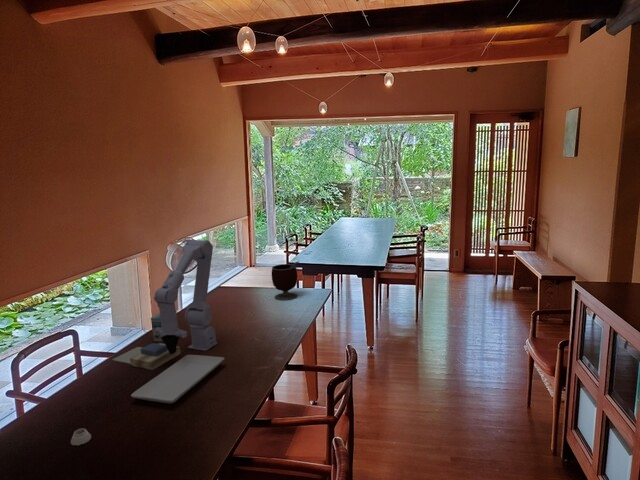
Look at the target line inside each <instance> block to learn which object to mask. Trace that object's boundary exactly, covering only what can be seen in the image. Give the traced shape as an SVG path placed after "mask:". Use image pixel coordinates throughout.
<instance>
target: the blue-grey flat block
mask: <svg viewBox="0 0 640 480" xmlns="http://www.w3.org/2000/svg"><path fill="white" fill-rule="evenodd" d="M161 344H162V343H161ZM161 344H159V343H154V342H152V343H149V344H148V345H146V346H143V347H142V349H141V354H144V355H150V356H155V357H157V356H159V355H161V354H162V353H164V352H166V351H168V349H167V346H166V345H161Z"/></svg>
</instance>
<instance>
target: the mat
mask: <svg viewBox="0 0 640 480" xmlns="http://www.w3.org/2000/svg"><path fill="white" fill-rule="evenodd" d="M142 348H143V347H142V346H136V347H135V348H132V349H131V350H129V351H127V352H124V353H123V354H120V355H119V356H116V357H114V358H112V359H111V361H113V362H118V363H124V364H128V365H131V362H130V358H132V357H134V356H136V355H137V354H139V353H141V349H142Z"/></svg>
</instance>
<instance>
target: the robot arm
mask: <svg viewBox="0 0 640 480" xmlns="http://www.w3.org/2000/svg"><path fill="white" fill-rule="evenodd" d="M182 249H183V253H182V255H181V258H180V260H179V262H178V264H177V266H176V267H175V270H171V271H170V272H169V274H168V276H167V278H166V279H165V280H164V282H163V284H162V286H161V287H159V288H158V289H156V291H155V293H154V296H153V299H154V302H156V305H157V307H158V309H159V313H160V319H161V327H157V328H155V329H154V334H157V333H160V334H161V335H162V336H163V337H161V339H162V340H163V341H162V343H163V344H165V345H166V346H167V349H168V351H169V353H170V354H174V353H175V352H176V347H177V346H178V342H179V340H180V337H181V338H182V339H185V338H186V337H187V336H188V331H186V330H183V329H181V328H179V325H178V326H177V321H178V316H177V317H176V312H177V309H176V301H177V300H178V297H179V295H178V293H179V289H180V288H181V285H182V283H183V281H184V280H185V273H186V271H187V269H188V268H189V267H190V266H191V264H192V262H193V261H195V262H196V273H195V280H194V281H195V282H194V290H193V298H192V302H190V303H189V304H188V305H187V307H186V312H185V314H184V320H185V323H186V324H188V327H189V329H190V336H191V337H190V338H191V344H190V345H188V346H187V349H193V350H199V351H204V352H205V351H208V350H209V349H211V348H213V347H214V346H216V345H218V342H217V336H216V329H215V327H214V326H211V322H212V318H213V315H212V307H211V305H209V304H208V301H207V300H208V299H207V298H208V291H209V283H210V281H209V280H210V273H211V265H212V259H213V249H214V246H213V244H212V243H211V241H210V240H208V239H205V240H202V239H201V240H200V239H188V240H187V241H185V243H184V246H183V247H182Z"/></svg>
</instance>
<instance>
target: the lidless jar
mask: <svg viewBox="0 0 640 480" xmlns="http://www.w3.org/2000/svg"><path fill="white" fill-rule="evenodd" d="M70 439H71V440H70V445H72V446H75V445H76V446H81V444H82V445H84V444H86V443H88V442H90V440H91V439H92V435H91V433H90V432H88V430H87V429H86V428H78V429H77V430H74V432H73V435H72V437H71V438H70Z"/></svg>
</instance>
